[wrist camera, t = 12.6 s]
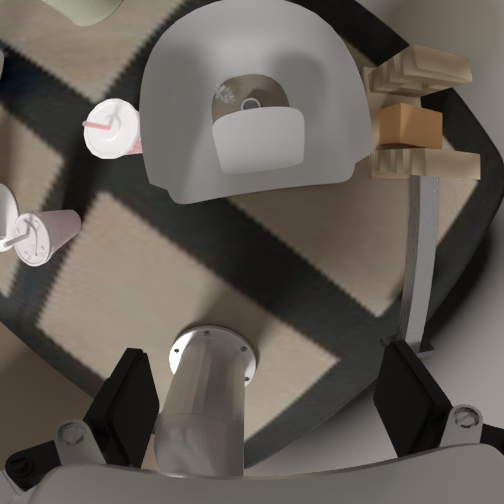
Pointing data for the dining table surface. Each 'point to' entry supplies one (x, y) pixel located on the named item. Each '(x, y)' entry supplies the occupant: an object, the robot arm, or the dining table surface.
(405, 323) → the shaft
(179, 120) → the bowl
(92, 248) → the dining table surface
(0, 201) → the panda figurine
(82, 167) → the dining table surface
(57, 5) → the can
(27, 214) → the smoothie
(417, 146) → the block
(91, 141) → the beverage cup
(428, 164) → the bracket
